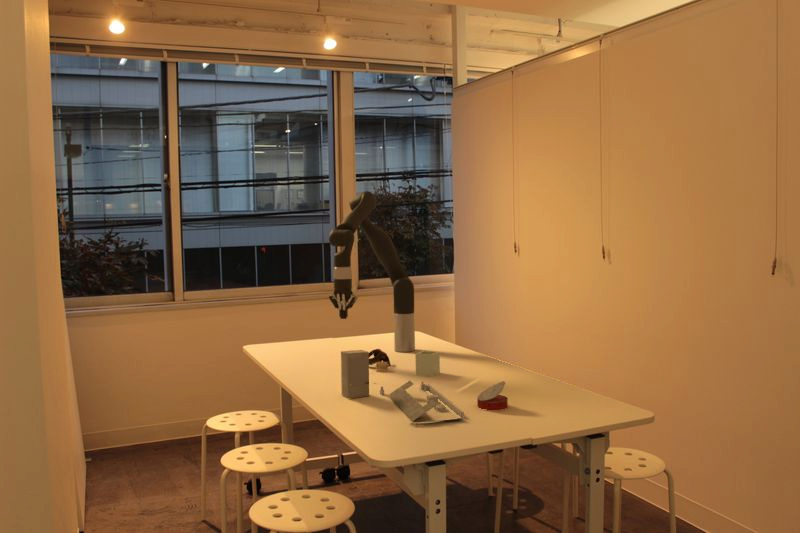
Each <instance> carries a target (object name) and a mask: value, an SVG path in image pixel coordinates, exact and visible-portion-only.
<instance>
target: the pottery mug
mask: <svg viewBox="0 0 800 533" xmlns="http://www.w3.org/2000/svg"><path fill="white" fill-rule="evenodd" d="M368 352H369V366H372V365H374V364H375V365H376V363H377V362H388V366H390V367H392V365H391V360H390V358H389V356H388V354H387V353H386V352H385V351H383V350H382V349H381V348H376V349H373V350H370V351H368ZM371 356H373V357H371Z"/></svg>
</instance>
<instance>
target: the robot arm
mask: <svg viewBox="0 0 800 533" xmlns="http://www.w3.org/2000/svg"><path fill="white" fill-rule="evenodd" d="M348 203H349V204H348V205H349V207H350V210H351V211H350V212H349V213H348V214H347V215H346V216H345V217H344V218H343V220H342V222H341V223H339V224H338V225H337V226H335V227H334V228H333V229H331V231H330V232H329V235H328V242H329V244H330V245H331V246H332V247H339V248H341V247H343V250H342V251H338V252H335V253H334V254H333V289H334V291H333V294H332V295H329V297H328V298H329V301H330V302H331V303H332V305H333V307H334V308H335V309H337V310H339V311H338V312H339V313H338V314H339V318H340V320H347V318H348V317H349V316H348V313H349V312H348V310H349V309H353V306H354V305H355V304H356V302H357V300H358V296H356V295H354V294H353V291H352V289H353V284H352V282H353V280H352V278H353V276H352V275H353V273H352V267H351V265H352V264H351V263H352V260H351V259H352V258H351V256H352V251H353V248H354V247H353V246H354V243H355V234H356V232H357V230H358V229H359V228H360V227H361V228H362V231H363V233H364V234H365V236H366V238H367V240H368V242H369V244H370V247H371V248H372V251H373V253H374V254H375V256H376V258H377V259H378V261H379V262H380V264H381V265H382V267H383V268H384V269H385V271H386V273H387V275H388V278H389V280H390V282H391V284H392V288H393V290H392V291H393V326H394V327H393V330H394V331H393V332H394V336H393V337H394V338H393V339H394V340H393V341H394V351H395V352H398V353H408V352H414V351H415V350H416V343H415V342H416V335H415V332H416V331H415V285H414V284H413V283H414V282H413V280H411V278H410V277H409V275H408V273H406V271H405V269H404V268H403V266H402V264H401V261H400V258H399V257H400V256H398V252H397V250H396V248H395V245H394V243H393V241H392V239H391V237H390V235H389V234H388V233H387V232H385V231H384V230H383V229H382V228H379V227H378V226H377V225H375V223H374V222H372V221H371V220H370V218H369V217H368V215H369V214H370V213H371V212H372V211H373V210H374V209H376V207H377V199H376V196H375V195H374V194H373V193H372V192H371V191H369V190H366V191H365V190H364V191H363V192H360V193H358V194H356V195H354V196H353V197H351V198H350V199H349V202H348Z"/></svg>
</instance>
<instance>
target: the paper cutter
mask: <svg viewBox="0 0 800 533" xmlns="http://www.w3.org/2000/svg"><path fill="white" fill-rule="evenodd" d="M413 385H414V382H412V381H411V380H408V381H407V382H405V383H404V384H402V385H401V386H399V387H398V388H397V389H395V390H393V391H392V392H391V393H388V394H387V396H388V398H390V399H391V401H393V402H394V403H395V404H396V405H397V407H398V408H400V409H401V411H403V413H405V415H406V416H407V417H408V418H409V419H410V421H411V422H414V421H416V420H417V419H418V418H420V417H421V416H423V415H424V414H426V413H427V412H429V411H431V409H434V410H435V411H436V412H437V411H441V412H446V411H447V409H446V407H445V406H444V405H441V404H438V403H439V402H438V399H439V400H440V401H442V402H443V403H444V404H445V405H447V406H448V407H449V408H450V409H451V410H453V411H454V412H455V413H456V414H457V415H459V416H460V417H461V418H454V419H450V421H455V420H457V419H458V420H464V419H466V416H465V415H464V414H465V413H464V411H463V410H462V409H461V408H459V407H458V406H457V405H456V404H454V403H453V402H452V401H451V400H449V399H448V398H447V397H445V396H444V395H443V394H442V393H440V392H439V391H438V390H437V389H436V388H435V387H433V386H432V385H430V384H427V383H425V384H424V381H421V384H420V391H421V390H424V392H425V391H429V392H430V393H432V394H433V395H429V394H428V395H426V402H427V401H428V402H429V403H428V402H427V403H426V404H425V405H422V404H421V403H419V401H417V400H416V398H414V397H413V396H412V395H411V394H410V393H409V392H407V389H409V388H410V387H412V386H413ZM381 394H384V395H385V390H384V387H383V386H380V389H379V395H381ZM436 402H438V403H436ZM445 420H446V419H442V420H429V421H420V422H419V421H418V422H415V424H431V423H432V424H433V423H438V422H446V421H445Z"/></svg>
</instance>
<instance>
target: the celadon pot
mask: <svg viewBox="0 0 800 533" xmlns="http://www.w3.org/2000/svg"><path fill="white" fill-rule="evenodd" d="M440 354H441V352H440V351H433V350H432V351H431V350H422V351H419V352H417V353H415V356H414V357H415V376H423V377H424V376H425V377H434V376H436V375H439V374H440V373H441V366H440V364H441V362H440V358H441V357H440V356H441V355H440Z"/></svg>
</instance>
